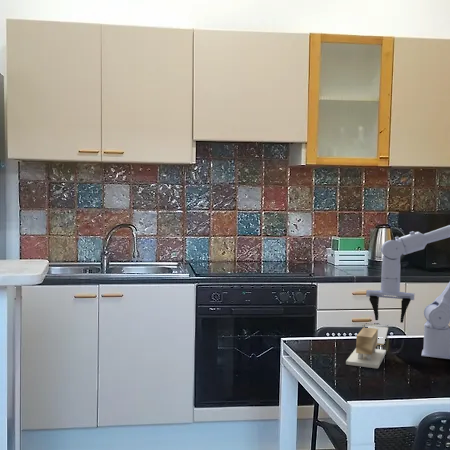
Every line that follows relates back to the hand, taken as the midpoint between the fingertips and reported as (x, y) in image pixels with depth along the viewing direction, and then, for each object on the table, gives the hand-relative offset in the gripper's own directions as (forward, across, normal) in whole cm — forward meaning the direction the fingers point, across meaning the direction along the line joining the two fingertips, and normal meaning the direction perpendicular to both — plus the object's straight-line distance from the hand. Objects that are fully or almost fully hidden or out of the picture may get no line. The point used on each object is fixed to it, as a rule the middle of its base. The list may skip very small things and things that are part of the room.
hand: (389, 320), depth 179 cm
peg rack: (+10, -5, -12) cm, 16 cm away
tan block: (+7, -5, -12) cm, 15 cm away
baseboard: (+11, -8, +22) cm, 26 cm away
